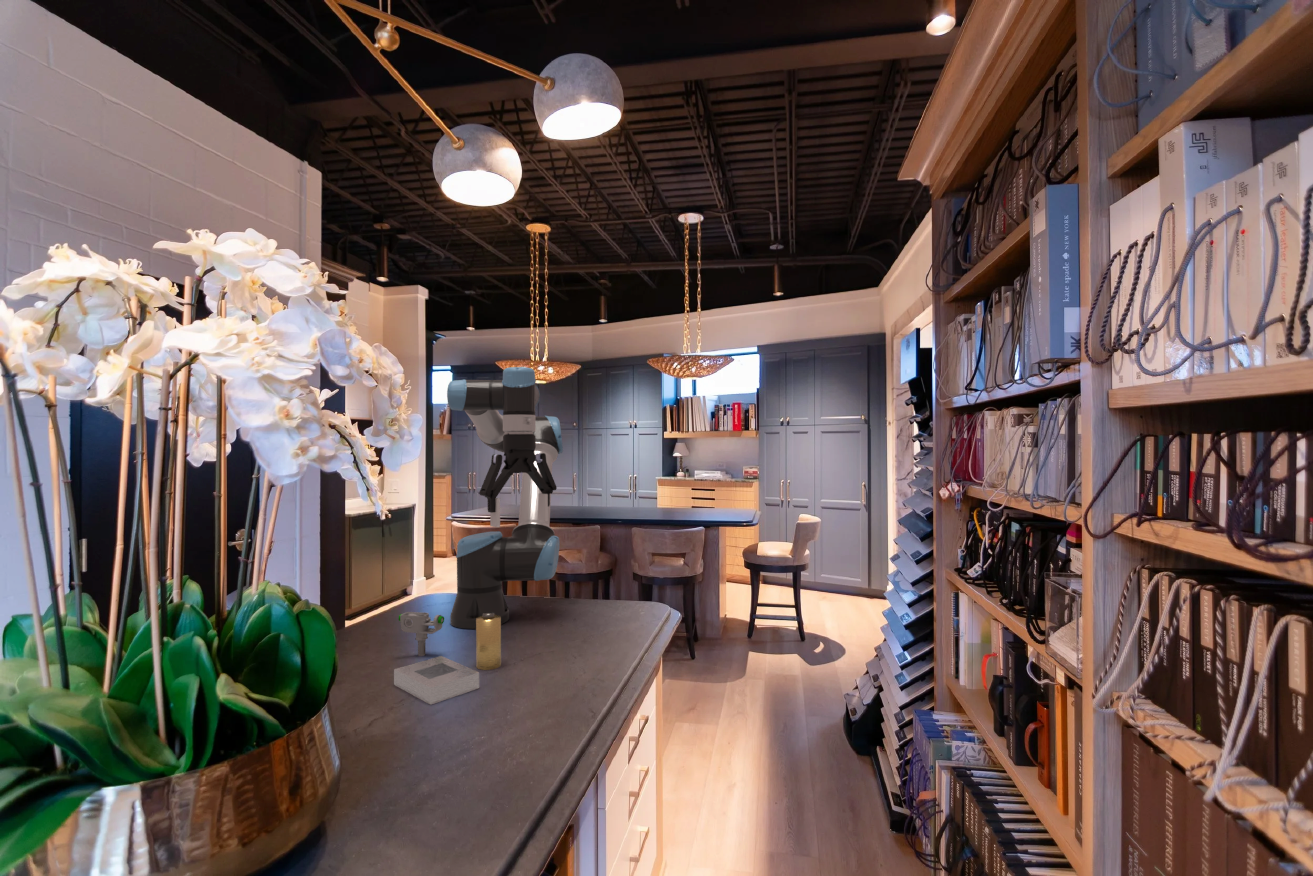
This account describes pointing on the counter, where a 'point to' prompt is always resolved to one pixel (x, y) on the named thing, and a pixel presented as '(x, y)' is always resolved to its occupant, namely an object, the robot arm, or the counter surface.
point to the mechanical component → (420, 627)
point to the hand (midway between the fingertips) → (520, 523)
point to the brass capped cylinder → (488, 641)
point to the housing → (436, 679)
